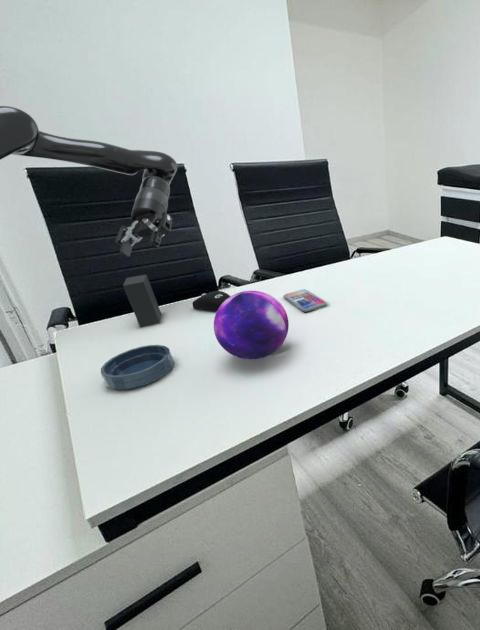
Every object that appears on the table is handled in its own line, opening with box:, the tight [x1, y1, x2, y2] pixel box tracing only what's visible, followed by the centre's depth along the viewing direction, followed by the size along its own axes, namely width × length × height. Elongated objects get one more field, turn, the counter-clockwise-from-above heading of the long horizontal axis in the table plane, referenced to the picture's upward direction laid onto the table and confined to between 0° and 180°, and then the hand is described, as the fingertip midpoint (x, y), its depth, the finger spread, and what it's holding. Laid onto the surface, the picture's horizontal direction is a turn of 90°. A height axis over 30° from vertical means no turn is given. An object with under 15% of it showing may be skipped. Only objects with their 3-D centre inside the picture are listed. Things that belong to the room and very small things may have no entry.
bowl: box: [100, 344, 175, 390], centre depth 82 cm, size 12×12×4 cm
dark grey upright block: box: [122, 274, 162, 328], centre depth 103 cm, size 4×6×12 cm
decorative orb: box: [213, 290, 290, 360], centre depth 84 cm, size 15×15×15 cm
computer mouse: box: [191, 290, 232, 312], centre depth 112 cm, size 8×12×4 cm, turn 70°
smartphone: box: [283, 288, 328, 313], centre depth 113 cm, size 7×1×15 cm
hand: (139, 250), depth 99 cm, fingers open, 8 cm apart
